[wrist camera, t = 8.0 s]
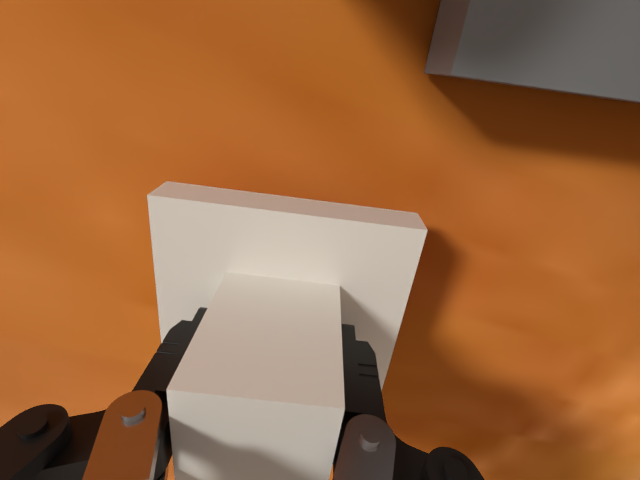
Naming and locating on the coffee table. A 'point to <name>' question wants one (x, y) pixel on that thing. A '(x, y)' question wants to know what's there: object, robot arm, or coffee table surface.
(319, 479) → the lid
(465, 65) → the socket plate
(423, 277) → the coffee table surface
